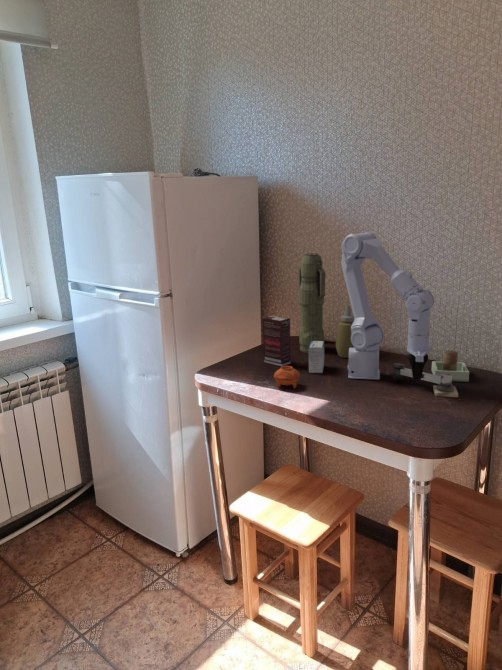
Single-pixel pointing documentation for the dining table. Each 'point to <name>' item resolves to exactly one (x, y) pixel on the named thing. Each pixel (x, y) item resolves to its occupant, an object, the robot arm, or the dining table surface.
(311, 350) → the medicine box
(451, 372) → the tray
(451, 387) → the crank mount
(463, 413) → the dining table surface
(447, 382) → the crank lever
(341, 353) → the squeeze bottle
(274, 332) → the supplement box
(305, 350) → the thermos
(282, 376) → the pot
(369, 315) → the robot arm
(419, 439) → the dining table surface
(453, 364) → the plug
